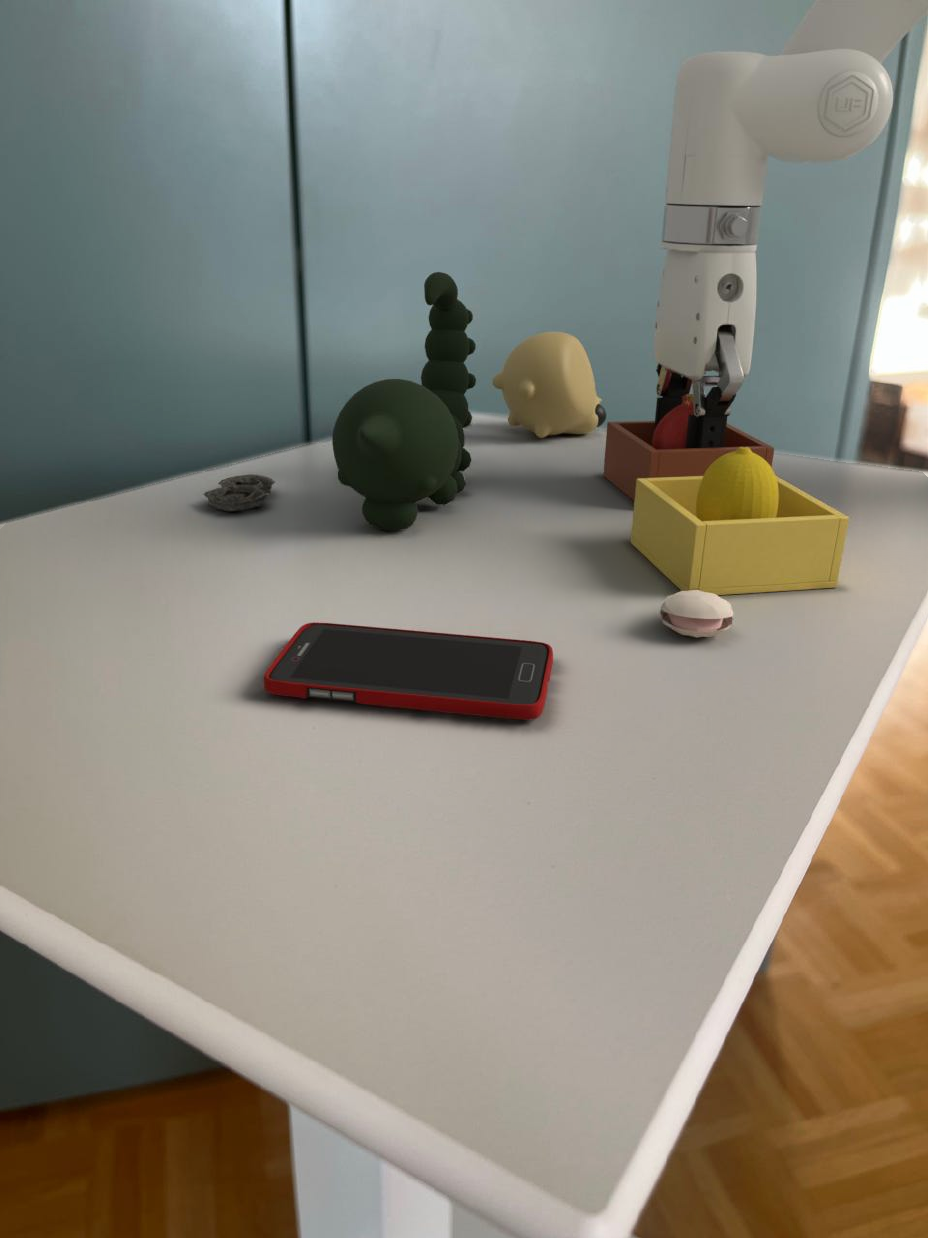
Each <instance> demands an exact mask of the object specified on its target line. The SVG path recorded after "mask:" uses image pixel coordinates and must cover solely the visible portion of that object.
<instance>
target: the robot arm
mask: <svg viewBox="0 0 928 1238" xmlns="http://www.w3.org/2000/svg"><path fill="white" fill-rule="evenodd" d="M926 15H928V0H815V1H814V2H813V3H812V5H811V7H810V8H809V9H808V11H807V12H806V13H805V15H804V16H803V18H802V20H801V21H800V23H799V24H798V26H797V27H796V29H795V31H794V32H793V33H792V35H791V36H790V38H789V40H788V41H787V42H786V44H785V46H783V49H782V50H781V51H780V54H779V55H766V54H764V53H759V52H754V51H742V50H741V51H739V50H738V51H737V50H731V51H730V50H724V51H722V50H721V51H708V52H701V53H697V54H693V55H692V56H689V57H687V58H686V59H685V60H684V61H683V62H682V64H681V65H680V66H679V69H678V71H677V74H676V80H675V87H674V97H673V107H672V108H673V109H672V119H671V130H670V132H671V133H670V141H669V154H668V165H667V174H666V186H665V199H664V208H663V209H664V210H663V221H662V231H661V241H660V249H662V250H666V252H665V257H664V262H663V268H662V273H661V278H660V279H661V280H660V285H659V292H658V300H657V307H656V315H655V324H654V335H653V356H654V359H655V360H656V362H657V363H656V364H657V366H656V369H655V372H656V373H657V377H658V378H657V379H658V380H657V383H656V387H655V393H656V396H657V397H656V403H655V404H656V405H655V415H654V421H655V425H654V431H655V429H656V427H657V425H658V423H659V422H660V420H661V419H662V418H663V417H664V416H665V415H666V414H667V413H668V412H670V411H671V410H672V409H674V408H675V407H677V406H679V405H681V404H682V402H683V399H682V397H683V396H685V395H686V394H691V393H690V392H691V390H692V394H693V403H694V414H693V415H689V418H688V427H687V436H686V445H685V449H691V448H722V447H724V440H725V432H726V424H728V417H729V416H730V415H731V413H732V404H733V402H734V401H735V399H736V396H737V393H738V392H739V390H740V389H741V388H742V386H743V384H744V382H745V379H746V378H747V377H748V375H749V374H750V371H751V366H752V357H753V346H754V337H755V326H756V325H755V324H756V314H757V313H756V312H757V311H756V310H757V289H758V288H757V287H758V286H757V285H758V284H757V283H758V280H757V276H758V275H757V257H756V252H757V249H758V240H759V233H760V232H759V231H760V226H761V225H760V223H761V217H762V209H763V207H762V206H763V201H764V193H765V192H764V191H765V184H766V177H767V170H768V164H769V163H768V162H769V158H770V157H772V158H773V159H774V160H775V159H776V161H777V160H778V161H780V162H785V163H792V164H793V163H795V164H796V163H799V164H800V163H810V164H811V163H812V164H814V163H815V164H818V163H819V164H820V163H821V164H822V163H832V162H838V161H843V160H847V159H848V158H849V159H850V158H851V157H853V156H856V155H857V154H860V152H862V151H864V150H865V149H866V148H867V147H869V146H870V145H871V144H872V143H874V141H876V140H877V138H878V137H879V136H880V135H881V133H882V132H883V130H884V129H885V127H886V125H887V123H888V122H889V120H890V116H891V113H892V110H893V107H894V105H893V104H894V89H893V84H892V81H891V78H890V75H889V73H888V72H887V70H886V68H885V67H884V66H883V63H884V61H885V60H886V58H888V56H889V55H890V54H891V53H892V52H893V50H894V49H895V47H897V45H898V44H899V43H900V42H901V41H902V39H903V38H904V37H905V36H906V35H907V34H909V32H910V31H911V30H912V29H913V28H914V27H915V26H916V25H917V24H918V23H919V22H920V21H921V20H922V19H923V18H925V17H926ZM712 371H714V372H716V373H718V375H707V372H712ZM706 387H711V388H710V390H709V391H708V393H707V394H706Z"/></svg>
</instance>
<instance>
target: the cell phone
mask: <svg viewBox="0 0 928 1238" xmlns="http://www.w3.org/2000/svg"><path fill="white" fill-rule="evenodd" d="M553 662H554V651H553V647H552V646H551V645H550V644H549V643H546V642H542V641H534V640H525V639H516V638H515V639H514V638H505V637H504V638H503V637H502V638H501V637H490V636H479V635H471V634H470V635H468V634H459V633H458V634H457V633H447V632H446V633H445V632H434V631H425V630H424V631H423V630H413V629H401V628H388V627H378V626H376V627H375V626H366V625H354V624H344V623H332V622H315V621H314V622H308V623H305V624H303V625H301V626H300V627H299V628H298V629H297V631H295V633H294V634H293V636H292V637H291V638H290V640H288V642H287V644H286V645H285V646H284V647H283V648H282V650H281V651H280V653H279V654H278V655H277V656H276V657H275V659H274V660H273V662H272V663H270V665H269V666H268V668H267V669H266V671H265V672H264V675H263V688H264V691H265V692H267V693H269V694H271V695H276V696H283V697H290V698H291V697H292V698H300V699H301V698H302V699H308V698H310V699H321V700H330V701H333V700H334V701H341V702H351V703H356V704H361V705H371V706H381V707H390V708H398V709H399V708H401V709H411V710H421V711H428V712H429V711H430V712H439V713H440V712H442V713H450V714H461V715H470V716H480V717H489V718H490V717H491V718H500V719H501V718H502V719H512V720H513V719H514V720H523V721H524V720H526V721H527V720H535V719H538V718H539V717H541V716H542V714H543V712H544V709H545V706H546V699H547V696H548V689H549V687H548V686H549V682H550V680H551V674H552V670H553V664H554V663H553Z"/></svg>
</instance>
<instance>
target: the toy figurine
mask: <svg viewBox="0 0 928 1238" xmlns="http://www.w3.org/2000/svg"><path fill="white" fill-rule="evenodd" d="M423 289H424V301H425V303H426V305H428V306H431V308H430V310H429V314H428V324H429V326H430V329H431V330H430V331H428V333H427V335H426V337H425V340H424V350H425V356H426V358H427V360H428V361H427V362H426V363H425V364H424V365H423V368H422V369H421V375H420V383H421V384H419V383H417V382H415V381H412V380H407V379H402V378H387V379H386V378H385V379H382V380H378V381H374V382H372V383H370V384H367V385H366V386H364V387H362V388H360V389H359V390H358V391H357V392H355V393H354V394H353V395H352V396H351V397H350V398H349V399H348V400H347V402H346V403H345V404H344V406H343V407H342V408H341V410H340V411H339V414H338V416H337V418H336V420H335V423H334V426H333V430H332V435H331V439H332V440H331V442H332V443H331V445H332V451H333V457H334V461H335V464H336V467H337V474H336V476H337V477H336V478H337V480H338V481H339V483H340V484H341V485H343V486H346V487H350V488H351V489H352V490H353V491H354V492H356V493H357V494H358V495H360V496H362V497H364V500H363V502H362V505H361V514H362V516H363V518H364V521H365V522H366V523H367V524H368V525H369V526H371V527H374V528H377V529H379V530H384V531H394V532H395V531H396V532H397V531H398V532H399V531H404V530H407V529H408V528H410V527H412V526H413V525H414V524H415V522H416V521H417V517H418V513H419V511H418V505H417V503H418V502H421V501H423V500H425V499H428V500H430V501H431V502H432V503H433V504H435V505H440V506H447V505H448V504H450V503H451V502H454V500H455V498H456V496H457V494H460V493H462V492H464V490H465V488H466V486H467V482H466V479H465V475H464V473H463V472H465V471H466V470H467V469H468V468H469V467H470V466H471V463H472V456H471V453H470V452H469V451H468V450H467V449H465V443H466V435H465V429H464V428H468V427H469V426H470V425H471V424H472V421H473V415H472V413H471V412H470V411H469V403H468V400H467V398H466V396H465V394H466V393H467V390H470V389H473V388H475V387H476V383H477V378H476V376H475V375H474V374H472V373H471V372H469V370H468V368H467V365H466V364H465V362H466V361H467V359H468V356H470V355H472V354H474V352H475V351H476V349H477V347H476V342H475V341H474V340H473V339H472V338H471V337H469V336H468V335H467V333H466V329H467V328H468V325H470V324H471V323H472V321H473V319H474V313H472V311H471V310H470V309H468V308H467V307H466V305H465V304H464V303H463V301H461V300H459V299H458V295H459V291H458V290H459V289H458V286H457V283H456V282H455V280H454V279H453V277H452V276H451V275H449V274H447V273H446V272H442V271H436V272H433V273H430V274H429V276H428V277H426V278H425V281H424V284H423Z"/></svg>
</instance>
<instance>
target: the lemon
mask: <svg viewBox="0 0 928 1238" xmlns="http://www.w3.org/2000/svg"><path fill="white" fill-rule="evenodd" d="M776 476H777V475H776V473H775V471H774V469H773V467H772V468H771V466H770V465H769V464H768V463H767V462H766V460H764V459H763V458H762V457H760V456H758V455H757V454H755V453H752V451H751V450H750V448H748V447H739V448H738V449H737V450H736V451H734V452H730V453H727V454H725V455H723V456H721V457H719V458H718V459H717V460H715V461H714V462H713V463H712V464H711V465H710V466H709V468H708V469H707V470H706V472H705V474H704V476H703V478H702V481H701V483H700V486H699V490H698V494H697V501H696V515H697V518H698V519H699V520H701V521H702V522H703V521H719V520H740V519H760V518H776V515H777V510H778V502H779V491H778V483H777V478H776Z"/></svg>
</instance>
